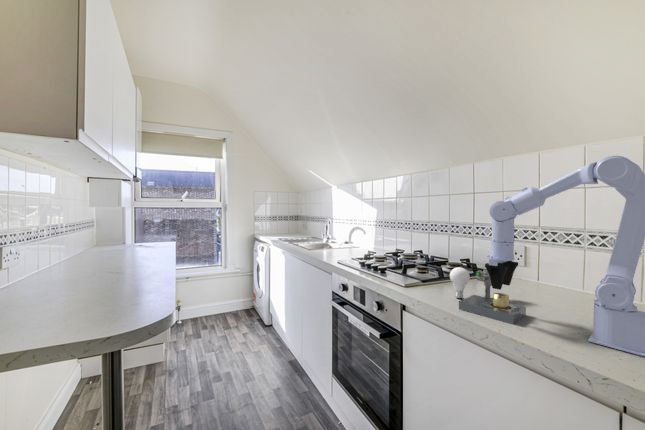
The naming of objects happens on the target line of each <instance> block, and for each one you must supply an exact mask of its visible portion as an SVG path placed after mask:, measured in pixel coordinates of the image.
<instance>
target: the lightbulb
mask: <svg viewBox="0 0 645 430" xmlns="http://www.w3.org/2000/svg"><path fill="white" fill-rule="evenodd" d="M470 278H471V276H470V273H469V271H468V270H467V269H466V268H463V267H461V266H459V267H457V266H456V267H454V268H453V269H451V270H450V272H449V279H450V281H451V283H452V284H453V288H454V297H456V298H457V299H461V300H462V298H463V299H464V290H465V289H466V288H465V287H466V285H468V283H469V281H470Z"/></svg>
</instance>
